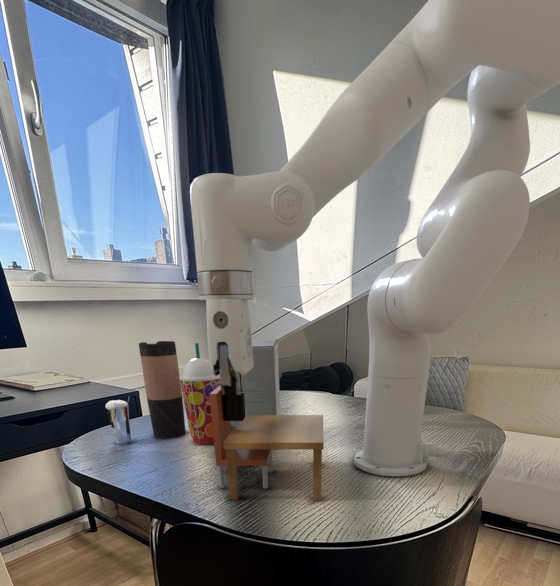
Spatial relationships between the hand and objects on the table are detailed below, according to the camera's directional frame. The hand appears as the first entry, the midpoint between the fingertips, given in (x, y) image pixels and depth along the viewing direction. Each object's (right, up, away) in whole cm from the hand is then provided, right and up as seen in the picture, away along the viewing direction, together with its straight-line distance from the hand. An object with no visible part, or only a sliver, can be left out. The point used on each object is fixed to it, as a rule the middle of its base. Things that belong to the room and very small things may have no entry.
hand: (234, 419), depth 64 cm
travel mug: (-18, +2, +31) cm, 36 cm away
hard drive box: (+3, +1, +26) cm, 26 cm away
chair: (+2, -9, +4) cm, 10 cm away
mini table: (+7, -9, +4) cm, 12 cm away
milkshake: (-27, 0, +26) cm, 37 cm away
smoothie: (-9, 0, +25) cm, 27 cm away
